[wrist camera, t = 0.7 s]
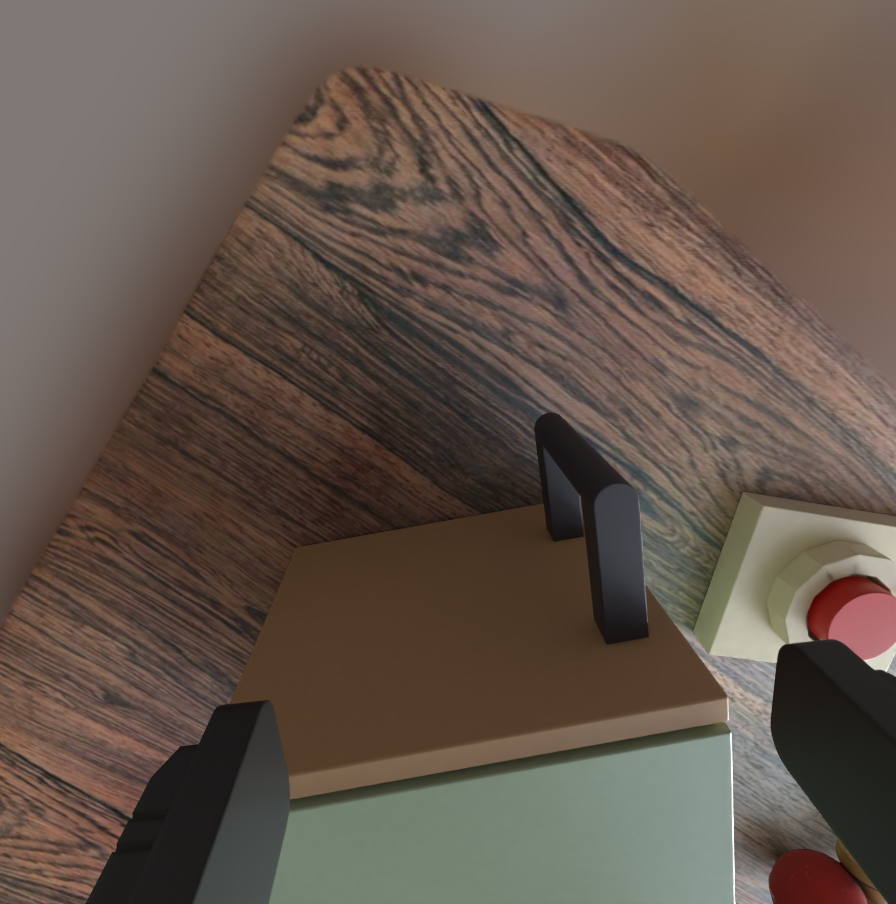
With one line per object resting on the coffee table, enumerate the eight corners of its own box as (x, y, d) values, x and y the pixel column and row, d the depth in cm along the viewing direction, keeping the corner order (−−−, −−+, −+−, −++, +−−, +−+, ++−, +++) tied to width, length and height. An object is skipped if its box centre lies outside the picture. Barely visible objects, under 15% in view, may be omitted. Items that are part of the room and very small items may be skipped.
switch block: (742, 491, 34) (782, 518, 31) (921, 519, 36) (981, 549, 32) (691, 633, 37) (723, 674, 34) (859, 655, 39) (907, 697, 35)
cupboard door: (267, 445, 32) (121, 620, 16) (570, 392, 32) (725, 512, 16) (299, 561, 34) (199, 817, 18) (582, 511, 34) (730, 721, 18)
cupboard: (301, 564, 34) (200, 827, 18) (582, 514, 34) (732, 731, 18) (349, 736, 38) (301, 1078, 22) (600, 691, 38) (737, 999, 22)
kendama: (973, 787, 45) (769, 832, 41) (1064, 877, 39) (837, 936, 36) (931, 844, 48) (740, 889, 45) (1009, 933, 43) (799, 992, 39)
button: (823, 570, 32) (845, 587, 31) (894, 581, 33) (919, 597, 31) (795, 637, 33) (815, 656, 32) (864, 646, 34) (887, 665, 32)
